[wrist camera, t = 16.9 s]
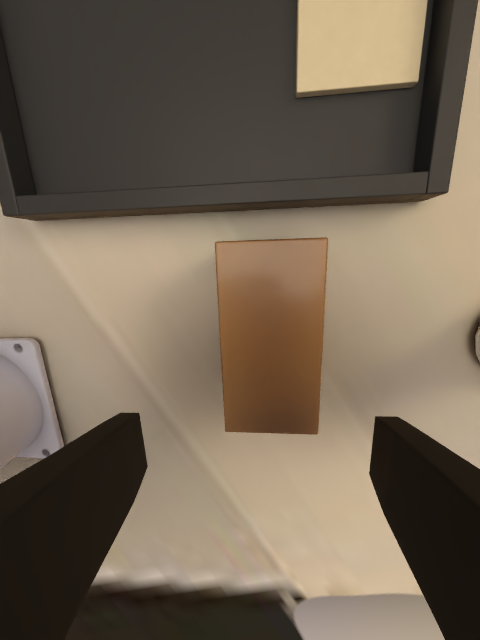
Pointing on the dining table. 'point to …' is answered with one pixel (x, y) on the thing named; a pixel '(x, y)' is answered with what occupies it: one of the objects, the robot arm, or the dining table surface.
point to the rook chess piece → (477, 342)
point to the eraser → (271, 333)
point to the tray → (209, 112)
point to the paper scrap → (358, 45)
